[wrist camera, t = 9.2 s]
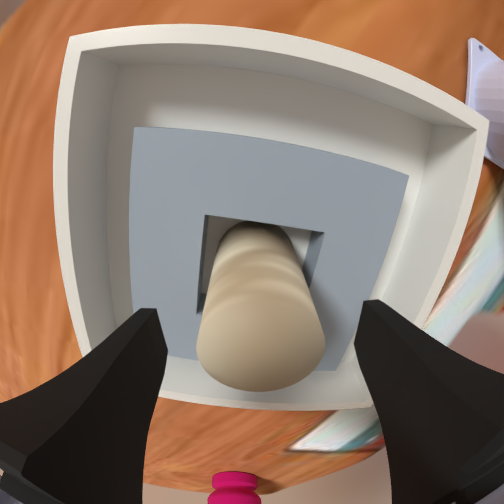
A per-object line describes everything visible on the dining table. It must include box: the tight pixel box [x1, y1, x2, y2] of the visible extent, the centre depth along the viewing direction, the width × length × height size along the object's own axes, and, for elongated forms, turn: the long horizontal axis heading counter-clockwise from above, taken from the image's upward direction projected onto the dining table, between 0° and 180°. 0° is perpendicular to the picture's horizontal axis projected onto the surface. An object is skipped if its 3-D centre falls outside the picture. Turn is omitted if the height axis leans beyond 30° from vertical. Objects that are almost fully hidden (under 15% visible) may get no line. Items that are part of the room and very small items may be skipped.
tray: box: [53, 24, 489, 411], centre depth 13 cm, size 18×18×4 cm
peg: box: [196, 220, 325, 392], centre depth 12 cm, size 4×4×7 cm
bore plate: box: [129, 127, 409, 371], centre depth 14 cm, size 12×12×2 cm
